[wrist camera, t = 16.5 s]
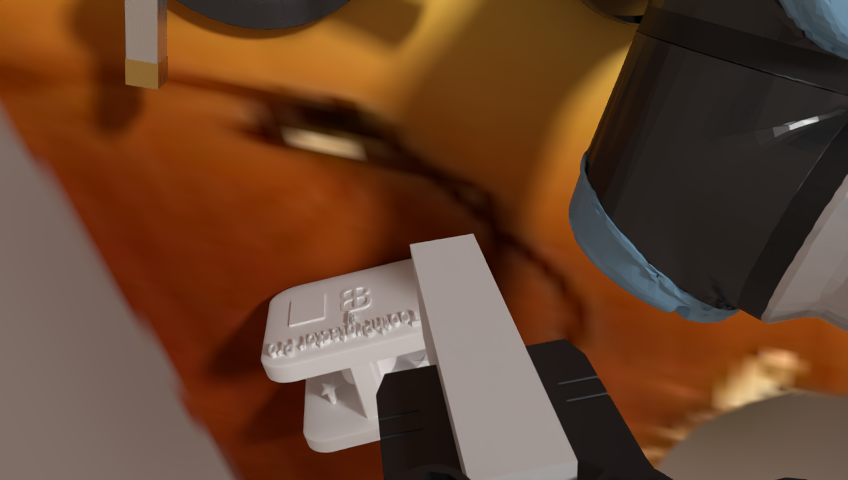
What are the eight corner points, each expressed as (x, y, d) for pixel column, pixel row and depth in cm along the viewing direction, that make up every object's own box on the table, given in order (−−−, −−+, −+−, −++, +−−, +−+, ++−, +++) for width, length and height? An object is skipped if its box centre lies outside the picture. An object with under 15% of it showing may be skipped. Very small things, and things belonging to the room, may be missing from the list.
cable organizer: (303, 368, 58) (297, 462, 48) (269, 283, 53) (255, 368, 43) (449, 333, 59) (473, 418, 48) (429, 244, 53) (452, 319, 43)
